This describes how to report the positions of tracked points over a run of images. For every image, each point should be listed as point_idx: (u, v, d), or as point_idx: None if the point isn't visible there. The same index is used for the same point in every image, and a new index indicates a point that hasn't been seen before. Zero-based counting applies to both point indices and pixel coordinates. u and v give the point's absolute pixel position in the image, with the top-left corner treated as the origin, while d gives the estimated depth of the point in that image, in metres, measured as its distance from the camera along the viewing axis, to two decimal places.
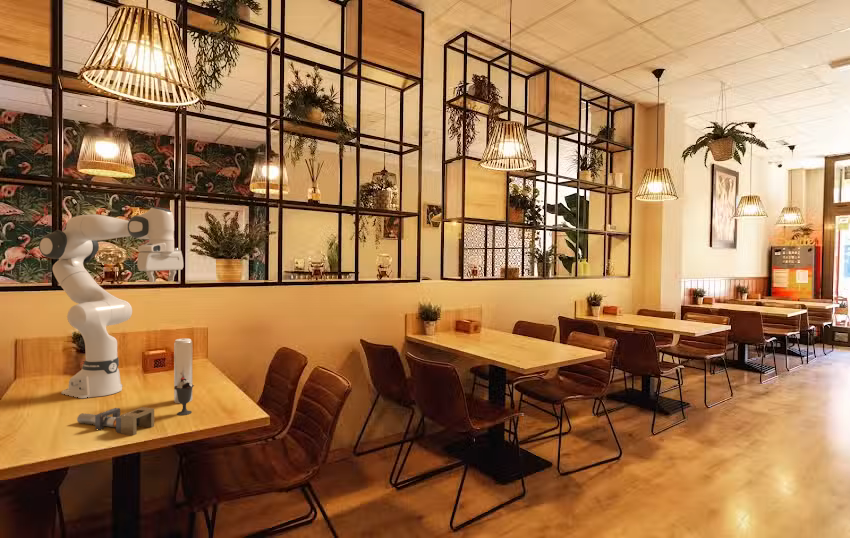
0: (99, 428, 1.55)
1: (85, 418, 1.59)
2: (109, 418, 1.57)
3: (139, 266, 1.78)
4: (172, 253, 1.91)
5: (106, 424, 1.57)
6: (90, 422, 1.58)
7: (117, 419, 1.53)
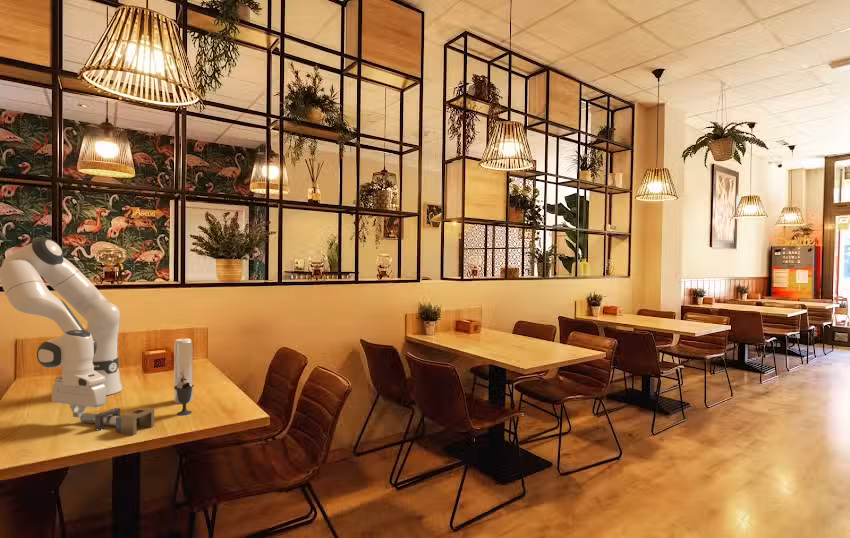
0: (99, 428, 1.55)
1: (89, 415, 1.60)
2: (114, 416, 1.59)
3: (98, 402, 1.58)
4: None
5: (109, 421, 1.58)
6: (93, 419, 1.59)
7: (117, 419, 1.53)
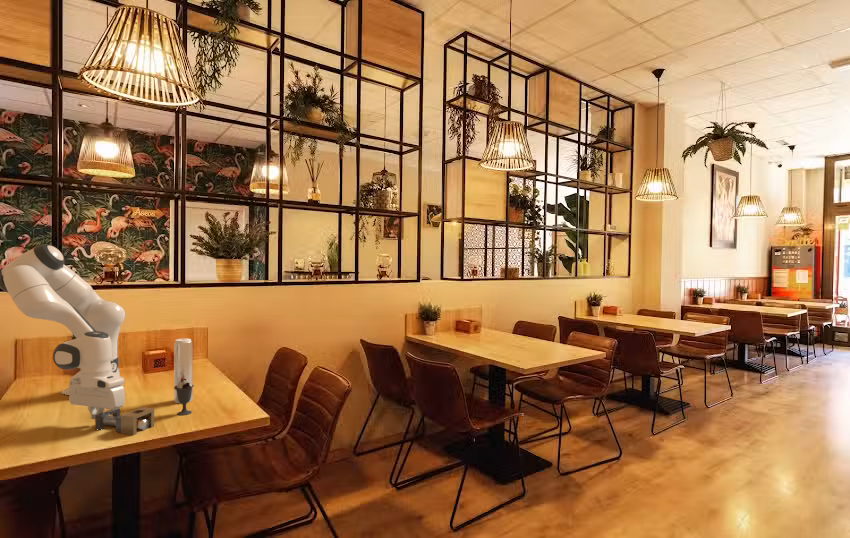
0: (99, 428, 1.55)
1: (108, 417, 1.58)
2: None
3: (117, 404, 1.56)
4: None
5: None
6: (111, 421, 1.57)
7: (117, 419, 1.53)
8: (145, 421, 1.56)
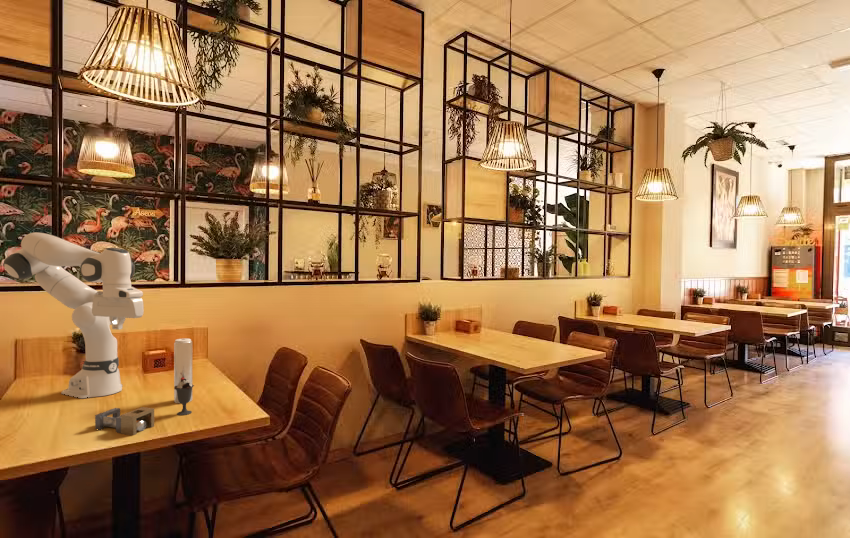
0: (99, 428, 1.55)
1: (103, 422, 1.57)
2: None
3: (137, 313, 1.68)
4: None
5: None
6: (109, 425, 1.56)
7: (117, 419, 1.53)
8: (140, 424, 1.54)
